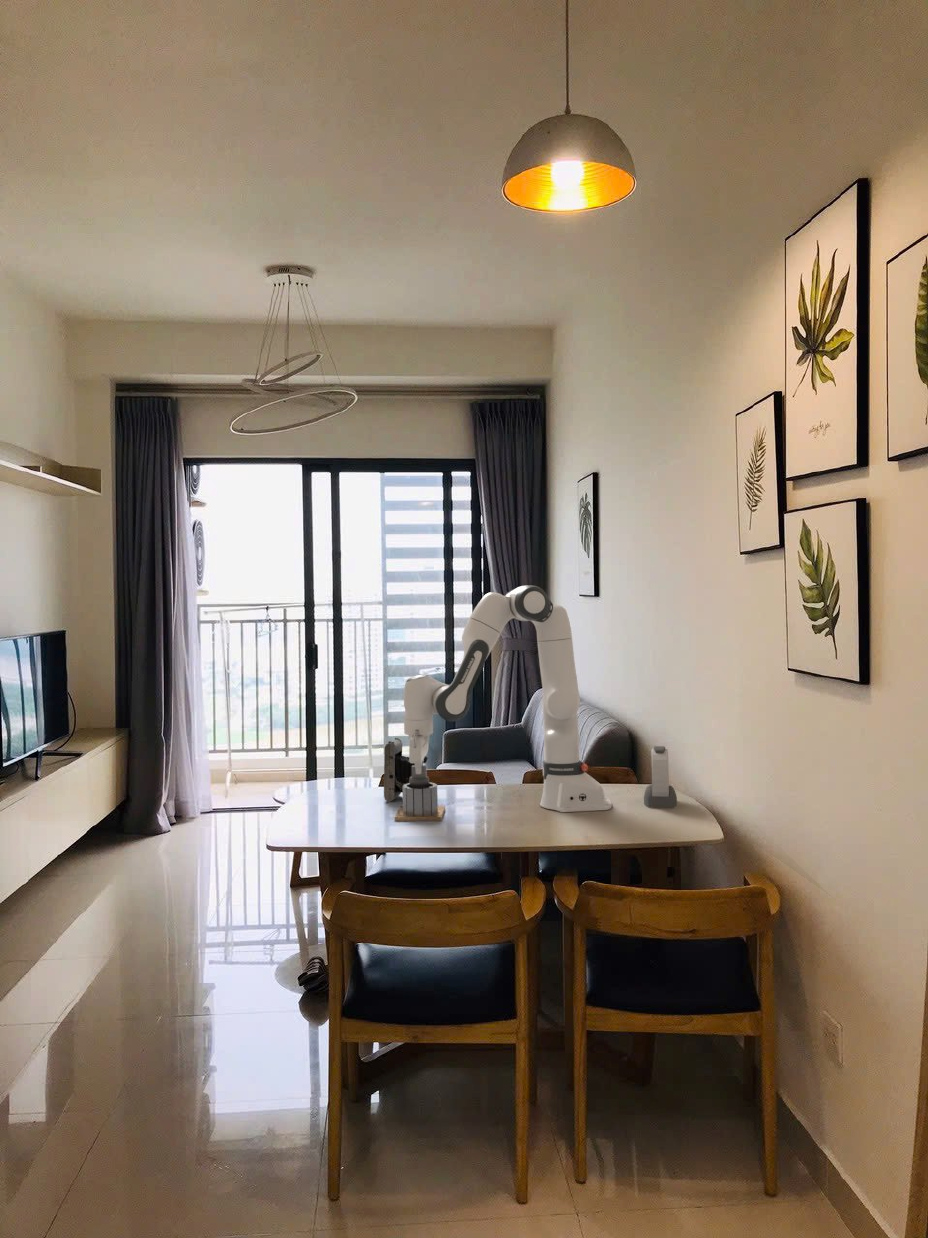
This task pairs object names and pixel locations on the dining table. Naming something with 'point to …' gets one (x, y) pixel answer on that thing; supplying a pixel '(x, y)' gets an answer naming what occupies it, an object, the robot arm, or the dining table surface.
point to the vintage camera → (396, 769)
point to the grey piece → (660, 782)
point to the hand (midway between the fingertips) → (419, 772)
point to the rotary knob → (419, 777)
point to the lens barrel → (420, 804)
